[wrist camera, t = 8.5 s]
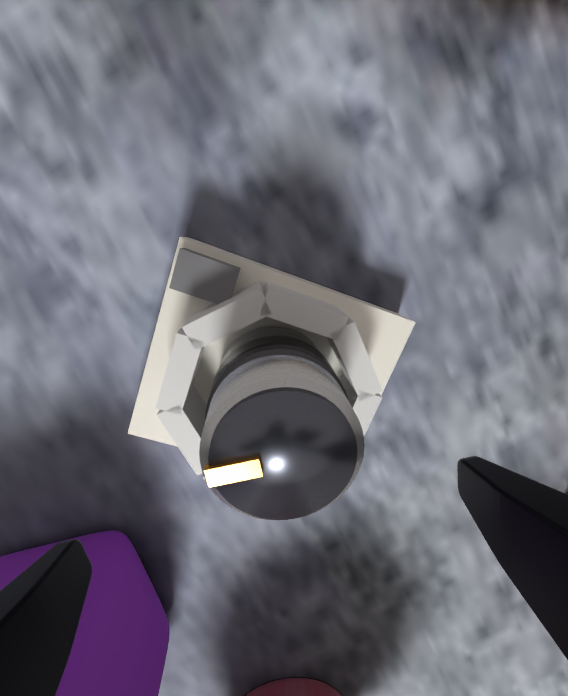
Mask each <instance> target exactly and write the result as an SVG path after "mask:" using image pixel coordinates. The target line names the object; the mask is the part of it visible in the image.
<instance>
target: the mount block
mask: <svg viewBox="0 0 568 696" xmlns="http://www.w3.org/2000/svg"><path fill="white" fill-rule="evenodd" d="M415 323H416V322H414V321H412V320H410V319H408V318H406V317H404V316H402V315H400V314H398V313H396V312H393V311H390V310H387V309H385V308H382V307H379V306H376V305H374V304H371V303H368V302H365V301H363V300H360V299H357V298H354V297H352V296H349V295H346V294H343V293H341V292H338V291H335V290H332V289H330V288H327V287H324V286H321V285H319V284H316V283H313V282H310V281H308V280H305V279H302V278H299V277H297V276H294V275H291V274H288V273H286V272H283V271H280V270H277V269H275V268H272V267H269V266H266V265H264V264H261V263H258V262H255V261H253V260H250V259H247V258H244V257H242V256H239V255H236V254H233V253H231V252H228V251H225V250H222V249H220V248H217V247H214V246H211V245H209V244H206V243H203V242H200V241H198V240H195V239H192V238H189V237H180V238H179V242H178V246H177V249H176V253H175V257H174V261H173V264H172V268H171V272H170V276H169V279H168V283H167V287H166V291H165V294H164V298H163V302H162V306H161V310H160V313H159V317H158V321H157V325H156V328H155V332H154V336H153V340H152V343H151V347H150V351H149V355H148V359H147V362H146V366H145V370H144V374H143V377H142V381H141V385H140V389H139V392H138V396H137V400H136V404H135V407H134V411H133V415H132V419H131V423H130V426H129V430H128V434H131V435H135V436H139V437H142V438H146V439H150V440H154V441H158V442H162V443H166V444H170V445H174V446H178V448H179V449H180V451H181V452H182V454H183V455H184V457H185V458H186V460H187V461H188V463H189V464H190V466H191V467H192V469H193V470H194V472H195V473H196V474H197V475H199V474H201V473H203V472H202V469H201V464H200V457H199V448H200V441H201V436H202V432H203V429H204V425H205V413H206V407H207V402H208V399H209V395H210V392H211V388H212V385H213V381H214V378H215V375H216V373H217V371H218V369H219V367H220V365H221V361H222V359H223V357H224V355H225V353H226V351H227V349H228V348H229V347H230V346H231V344H232V343H233V342H234V341H235V340H236V339H238V338H239V337H240V336H242V335H243V334H245V333H247V332H248V331H251V330H253V329H256V328H259V327H264V326H284V327H288V328H292V329H294V330H297V331H299V332H300V333H302V334H304V335H305V336H307V337H308V338H309V339H310V340H311V341H312V342H313V343H314V344H315V345H316V346H317V348H318V349H319V351H320V352H321V353H322V354H323V355H324V356H325V358H326V359H327V360H328V362H329V363H330V365H331V367H332V368H333V370H334V372H335V373H336V375H337V377H338V378H339V380H340V382H341V383H342V385H343V387H344V389H345V391H346V394H347V396H348V400H349V403H350V405H351V406H352V408H353V410H354V412H355V413H356V415H357V417H358V419H359V421H360V424H361V427H362V430H363V435H365V433H366V431H367V429H368V427H369V425H370V423H371V421H372V419H373V416H374V414H375V412H376V410H377V408H378V406H379V404H380V402H381V400H382V396H381V395H382V392H383V390H384V388H385V386H386V384H387V382H388V380H389V378H390V376H391V373H392V371H393V369H394V367H395V365H396V363H397V361H398V359H399V356H400V354H401V352H402V350H403V348H404V346H405V344H406V342H407V339H408V337H409V335H410V333H411V331H412V329H413V327H414V325H415ZM203 479H204V480H205V477H204V476H203Z"/></svg>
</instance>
